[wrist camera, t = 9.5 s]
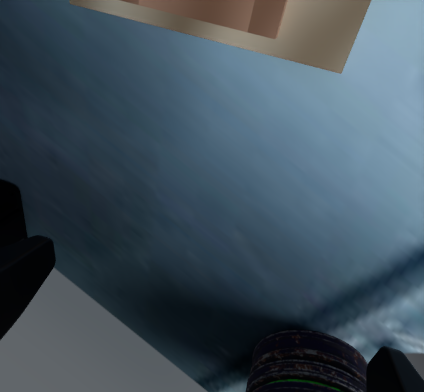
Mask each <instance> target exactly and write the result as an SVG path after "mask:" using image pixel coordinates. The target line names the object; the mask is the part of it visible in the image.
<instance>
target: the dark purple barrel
mask: <svg viewBox="0 0 424 392" xmlns="http://www.w3.org/2000/svg"><path fill="white" fill-rule="evenodd" d="M367 366H368V364H367V362H366V360H365V359H364V357H363V356H362V355H361V354H360V353H359V352H358V351H357V350H356V349H354V348H353V347H352V346H350V345H349V344H347V343H346V342H344V341H342V340H340V339H338V338H336V337H333V336H330V335H327V334H323V333H319V332H315V331H308V330H287V331H282V332H277V333H274V334H271V335H269V336H267V337H265V338H264V339H262V340H261V341H260V342H259V343H258V344H257V345H256V347H255V349H254V352H253V357H252V368H251V371H250V377H249V379H248V382H247V388H246V392H366V369H367Z"/></svg>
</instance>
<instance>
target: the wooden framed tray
mask: <svg viewBox="0 0 424 392" xmlns="http://www.w3.org/2000/svg"><path fill="white" fill-rule="evenodd" d="M370 2H371V0H70V4H73V5H77V6H80V7H84V8H88V9H92V10H96V11H100V12H104V13H108V14H111V15H115V16H119V17H123V18H127V19H131V20H135V21H139V22H142V23H146V24H150V25H154V26H158V27H162V28H166V29H170V30H174V31H177V32H181V33H185V34H189V35H193V36H197V37H201V38H205V39H208V40H212V41H216V42H220V43H224V44H228V45H232V46H236V47H239V48H243V49H247V50H251V51H255V52H259V53H263V54H267V55H270V56H274V57H278V58H282V59H286V60H290V61H294V62H298V63H301V64H305V65H309V66H313V67H317V68H321V69H325V70H329V71H332V72H336V73H340V74H341V73H342V71H343V68H344V66H345V63H346V61H347V58H348V56H349V54H350V51H351V49H352V46H353V44H354V41H355V39H356V36H357V34H358V32H359V29H360V27H361V24H362V22H363V19H364V17H365V14H366V12H367V9H368V7H369V5H370Z"/></svg>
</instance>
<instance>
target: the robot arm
mask: <svg viewBox="0 0 424 392" xmlns="http://www.w3.org/2000/svg"><path fill="white" fill-rule="evenodd" d="M55 261H56V258H55V251H54V244H53V241H52V240H51V239H50V238H47V237H44V236H40V235H36V236H33V237H30V238H27V232H26V226H25V220H24V214H23V208H22V201H21V195H20V191H19V190H18V188H17V187H15V186H13V185H10V184H7V183H4V182H1V181H0V340H1V339H2V338H3V336H4V335H5V334H6V333H7V332H8V330H9V329H10V328H11V327H12V326H13V324H14V323H15V322H16V321H17V319H18V318H19V317H20V316H21V314H22V313H23V312H24V310H25V309H26V307H27V306H28V304H29V303H30V301H31V300H32V299H33V297H34V296H35V294H36V293H37V291H38V290H39V288H40V287H41V285H42V284H43V282H44V281H45V279H46V278H47V277H48V275H49V274H50V272H51V271H52V269H53V267H54V265H55ZM366 392H424V380H423V379H422V377H421V376H420V375H419V374H418V372H417V371H416V369H415V368H414V367H413V365H412V364H411V363H410V361H409V360H408V359H407V357H406V356H405V355H404V354H403V353H402V352H401V351H399V350H396V349H393V348H390V347H387V346H383V347H381V348H380V349H379V350H378V352H377V353H376V354H375V356H374V357H373V358H372V359H371V361H370V362H369V363H368V366H367V369H366Z"/></svg>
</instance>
